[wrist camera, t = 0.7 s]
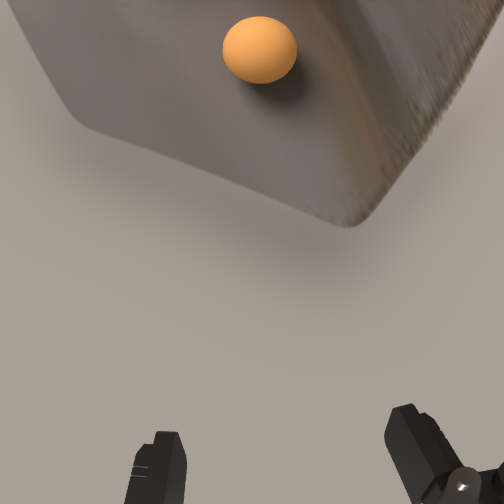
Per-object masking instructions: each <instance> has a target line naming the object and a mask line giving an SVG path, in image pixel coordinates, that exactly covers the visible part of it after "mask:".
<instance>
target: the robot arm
mask: <svg viewBox="0 0 504 504" xmlns="http://www.w3.org/2000/svg"><path fill="white" fill-rule="evenodd" d="M384 438H385V444H386V447H387V449H388V451H389V453H390V455H391V457H392V460H393V462H394V464H395V466H396V469H397V471H398V473H399V475H400V477H401V480H402V482H403V484H404V486H405V489H406V491H407V493H408V496H409V498H410V500H411V502H412V504H421V503H423V504H504V462H503V463H502V464H501V466H500V467H499V468H498V469H493V470H487V471H482V472H477V471H476V470H475V469H473V468H471V467H465V466H463V464H462V463H461V461H460V460H459V458H458V457H457V455H456V453H455V452H454V450H453V449H452V447H451V445H450V443H449V442H448V440H447V439H446V438H445V436H444V434H443V432H442V431H440V428H439V426H438V424H437V423H436V421H435V420H434V419H433V418H432V417H430V416H429V415H427V414H426V413H421V414H419V412H418V410H417V409H416V407H415V406H414V405H413V404H407V405H404V406H399V407H396V408H393V410H392V412H391V415H390V418H389V422H388V424H387V427H386V430H385V434H384ZM133 466H134V467H133V468H132V473H131V477H130V481H129V485H128V490H127V493H126V498H125V503H124V504H183V502H184V491H185V481H186V471H187V459H186V454H185V451H184V448H183V445H182V443H181V440H180V437H179V434H178V432H168V431H157V432H156V434H155V439H154V443H153V444H144V445H143V446H142V447H141V448H140V450H139V451H138V452H137V453H136V456H135V460H134V465H133Z"/></svg>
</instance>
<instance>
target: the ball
mask: <svg viewBox="0 0 504 504" xmlns="http://www.w3.org/2000/svg"><path fill="white" fill-rule="evenodd" d="M223 57H224V60H225V63H226V65H227V66H228V68H229V69H230V70H231V72H232V73H234V74H235V75H236V76H237V77H239V78H240V79H242V80H244V81H247V82H251V83H256V84H264V83H270V82H273V81H276V80H278V79H280V78H282V77H283V76H285V75H286V74H287V73H288V72H289V71H290V70H291V68H292V67H293V65H294V63H295V60H296V57H297V44H296V40H295V38H294V36H293V34H292V32H291V31H290V30H289V29H288V28H287V27H286V26H285V25H284V24H282V23H281V22H279V21H277V20H275V19H272V18H269V17H251V18H247V19H244V20H242V21H240V22H239V23H237V24H236V25H234V26H233V27H232V28H231V29H230V31H229V32H228V33H227V35H226V37H225V40H224V43H223Z"/></svg>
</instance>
